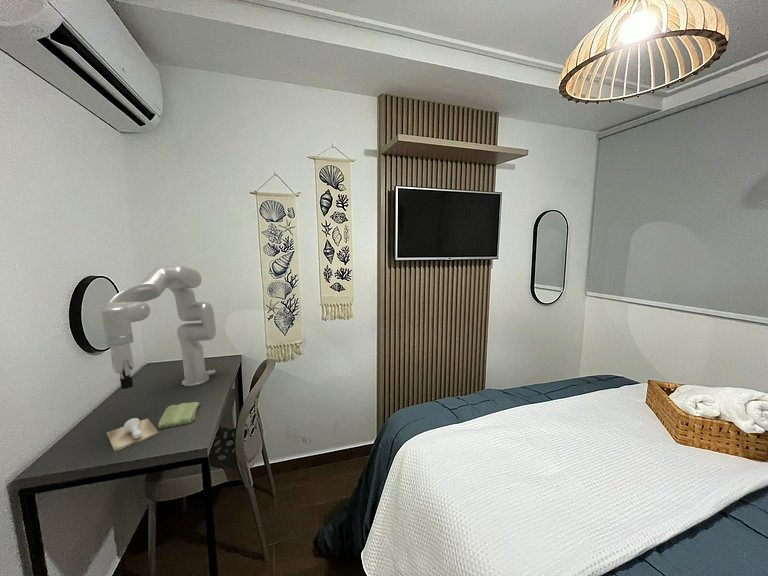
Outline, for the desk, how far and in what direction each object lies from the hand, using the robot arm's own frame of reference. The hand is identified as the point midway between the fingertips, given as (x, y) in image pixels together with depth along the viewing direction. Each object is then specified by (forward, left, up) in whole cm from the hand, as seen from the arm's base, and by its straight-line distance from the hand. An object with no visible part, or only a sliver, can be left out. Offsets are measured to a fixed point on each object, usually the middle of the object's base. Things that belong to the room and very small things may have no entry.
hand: (127, 387), depth 118 cm
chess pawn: (0, -2, -15) cm, 15 cm away
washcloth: (-16, -2, -20) cm, 25 cm away
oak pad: (0, -1, -19) cm, 19 cm away
